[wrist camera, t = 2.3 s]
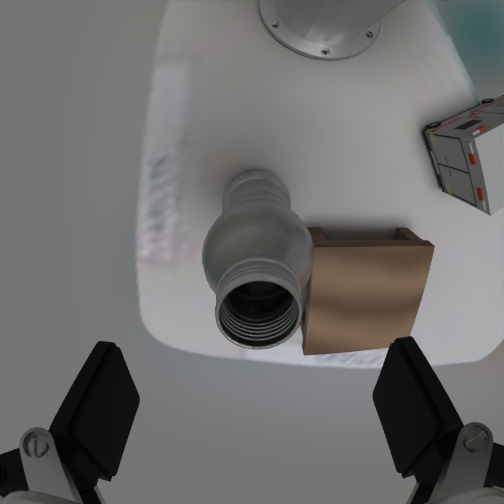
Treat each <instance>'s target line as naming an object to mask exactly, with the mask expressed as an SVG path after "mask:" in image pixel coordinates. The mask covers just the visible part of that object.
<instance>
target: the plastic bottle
mask: <svg viewBox="0 0 504 504" xmlns="http://www.w3.org/2000/svg"><path fill="white" fill-rule="evenodd" d="M222 209H223V214H222V215H221V216H220V217H219V218H217V220H216V221H215V223H214V224H213V226H212V227H211V229H210V230H209V232H208V234H207V236H206V239H205V241H204V245H203V250H202V263H203V267H204V272H205V275H206V279H207V281H208V283H209V285H210V287H211V289H212V290H213V292H214V293H215V294H216V301H217V303H216V307H215V316H216V322H217V326H218V328H219V330H220V331H221V333H222V334H223V335H224V336H225V337H226V338H227V339H228V340H229V341H230V342H232V343H234V344H236V345H238V346H241V347H243V348H248V349H267V348H271V347H275V346H277V345H279V344H281V343H283V342H285V341H286V340H288V339H289V338H290V337H291V336H292V335H293V334H294V333H295V332H296V330H297V329H298V327H299V325H300V322H301V319H302V311H303V309H302V301H301V292H302V290H303V289H304V287H305V286H306V284H307V283H308V280H309V278H310V275H311V272H312V268H313V262H314V244H313V240H312V237H311V234H310V232H309V230H308V228H307V227H306V225H305V224H304V223H303V221H302V220H301V219H300V218H299V216H298V215H297V214H296V213H295V212H293V211H292V210H291V201H290V195H289V192H288V189H287V188H286V186H285V184H284V183H283V182H282V181H281V179H279V178H278V177H277V176H275V175H274V174H271V173H269V172H266V171H259V170H254V171H248V172H246V173H243V174H241V175H239V176H238V177H236V178H235V179H234V180H233V181H232V182H231V183H230V184H229V186H228V187H227V189H226V191H225V193H224V197H223V203H222Z"/></svg>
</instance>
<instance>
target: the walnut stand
mask: <svg viewBox="0 0 504 504" xmlns="http://www.w3.org/2000/svg"><path fill="white" fill-rule="evenodd" d="M308 230H309V232H310V234H311V237H312V240H313V244H314V262H313V268H312V272H311V275H310V278H309V280H308V292H307V304H306V312H302V319H301V322H300V325H301V330H302V335H303V344H302V348H303V354H304V355H318V354H331V353H343V352H353V351H363V350H372V349H380V348H387V347H389V346H390V344H391V343H394V340H395V339H396V338H401V337H408V336H410V333H411V330H412V327H413V325H414V321H415V318H416V315H417V312H418V309H419V306H420V302H421V299H422V295H423V292H424V288H425V285H426V281H427V277H428V273H429V269H430V265H431V261H432V256H433V252H434V247H435V246H434V245H433V244H432V243H430V242H429V241H428V240H422V239H420V238H419V237H418V236H417V235H415V234H414V233H413V232H412V231H410V230H409V229H408V228H397V229H396V236H395V241H327V239H326V238H325V236H324V234H323V233H322V231H321V229H320V228H308Z"/></svg>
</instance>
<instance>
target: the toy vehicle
mask: <svg viewBox="0 0 504 504" xmlns="http://www.w3.org/2000/svg"><path fill="white" fill-rule="evenodd" d="M481 102H482V105H479V106H477V107H475V108H473V109H470V110H468V111H466V112H464V113H461V114H459V115H457V116H455V117H453V118H450V119H448V120H446V121H444V122H442V123H441V122H433V123H431V124H429V125H426V129H427V130H425V131H423V133H424V136H425V138H426V141H427V144H428V147H429V150H430V152H431V155H432V158H433V161H434V164H435V168H436V171H437V174H438V177H439V181H440V184H441V188H442V191H443V192H445V193H447V194H449V195H451V196H453V197H455V198H457V199H459V200H461V201H463V202H465V203H467V204H469V205H471V206H473V207H475V208H477V209H479V210H481V211H483V212H485V213H487V214H489V215H490V216H491V215H492V214H494V213H495V212H497V211H498V210H499V209H501V208H502V207H504V95H502V96H500V97H498V98H495V99H492V98H491V99H485V100H482V101H481Z"/></svg>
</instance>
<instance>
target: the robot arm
mask: <svg viewBox="0 0 504 504" xmlns="http://www.w3.org/2000/svg"><path fill="white" fill-rule="evenodd" d="M404 1H406V0H259V11H260V14H261V18H262V20H263V22H264V24H265V26H266V28H267V29H268V30H269V32H270V33H271V34H272V35H273V37H275V38H276V39H277V40H278V41H279V42H280V43H281V44H283V45H284V46H286V47H288V48H289V49H291V50H292V51H294V52H297V53H299V54H301V55H303V56H307V57H311V58H314V59H320V60H342V59H347V58H350V57H353V56H355V55H358V54H359V53H361V52H363V51H364V50H366V49H367V48H368V47H369V46H370V45H371V44H372V43H373V42H374V40H375V39H376V37H377V35H378V32H379V29H380V19H381V18H382V17H383V16H385V15H386V14H387V13H389V12H390V11H391V10H393V9H394V8H396V7H397V6H398V5H400V4H401V3H403V2H404ZM273 26H277V27H278V28H273ZM366 35H367V36H368V37H367V36H366ZM322 51H325V52H326V55H324V54H323V53H322ZM139 401H140V397H139V394H138V392H137V389H136V387H135V384H134V382H133V380H132V377H131V375H130V373H129V370H128V367H127V365H126V362H125V360H124V357H123V355H122V352H121V350H120V348H119V347H117V346H116V344H115V343H113V342H105V341H99V342H97V344H96V345H95V347H94V349H93V350H92V352H91V353H90V355H89V357H88V359H87V360H86V362H85V364H84V366H83V367H82V369H81V371H80V372H79V374H78V376H77V378H76V379H75V381H74V383H73V384H72V386H71V388H70V390H69V392H68V393H67V396H66V397H65V399H64V401H63V403H62V405H61V406H60V408H59V410H58V412H57V414H56V416H55V418H54V420H53V422H52V424H51V426H50V428H49V430H46V429H44V428H40V427H35V428H31V429H29V430H27V431H26V432H25V433H24V434H23V436H22V437H21V439H20V443H19V445H20V446H19V448H17V449H14V450H12V451H9V452H6V453H3V454H1V455H0V504H106V503H105V501H104V499H103V497H102V495H101V493H100V491H99V489H98V487H97V482H98V479H99V478H100V479H103V480H106V481H111V478H112V476H115V475H116V474H117V471H118V468H119V465H120V461H121V458H122V455H123V452H124V448H125V445H126V442H127V439H128V436H129V433H130V430H131V427H132V423H133V421H134V417H135V415H136V411H137V409H138V406H139ZM373 401H374V404H375V407H376V410H377V413H378V416H379V418H380V421H381V424H382V427H383V430H384V433H385V436H386V439H387V442H388V445H389V448H390V451H391V455H392V457H393V461H394V464H395V467H396V470H397V472H398V473H401V474H402V477H403V478H406V477H410V476H413V475H415V478H416V481H417V482H416V485H415V487H414V489H413V491H412V493H411V495H410V497H409V499H408V501H407V503H406V504H504V446H503V445H500V444H497V443H494V442H493V435H492V433H491V431H490V429H489V428H488V427H487V426H485V425H484V424H481V423H479V422H472V423H468V424H466V425H465V426H464V425H463V423H462V421H461V419H460V417H459V415H458V413H457V411H456V409H455V408H454V406H453V404H452V402H451V400H450V398H449V396H448V395H447V393H446V392H445V389H444V388H443V386H442V384H441V382H440V381H439V379H438V377H437V375H436V374H435V372H434V371H433V369H432V367H431V366H430V364H429V362H428V361H427V359H426V357H425V356H424V354H423V353H422V351H421V349H420V348H419V346H418V345H417V343H416V341H415V340H414V338H413V337H411V336H408V337H401V338H396V339H395V340H394V343H391V344H390V346H389V349H388V352H387V355H386V358H385V361H384V364H383V367H382V370H381V372H380V375H379V378H378V380H377V383H376V386H375V388H374V391H373Z"/></svg>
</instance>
